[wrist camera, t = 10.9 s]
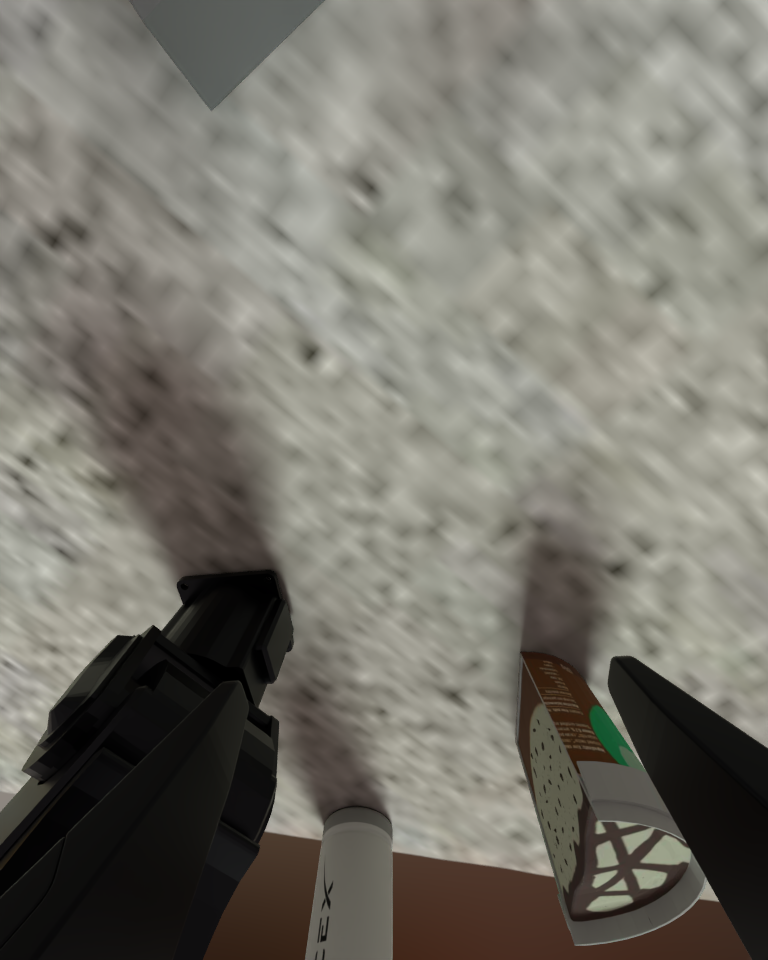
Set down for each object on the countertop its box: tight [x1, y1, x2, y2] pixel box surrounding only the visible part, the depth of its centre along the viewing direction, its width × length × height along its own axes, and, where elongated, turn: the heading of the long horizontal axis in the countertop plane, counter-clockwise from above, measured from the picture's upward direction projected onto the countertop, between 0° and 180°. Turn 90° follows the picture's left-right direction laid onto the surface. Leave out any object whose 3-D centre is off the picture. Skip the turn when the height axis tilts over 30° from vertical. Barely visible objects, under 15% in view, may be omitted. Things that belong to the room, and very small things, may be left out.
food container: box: [516, 652, 707, 945], centre depth 22 cm, size 12×6×10 cm, turn 5°
